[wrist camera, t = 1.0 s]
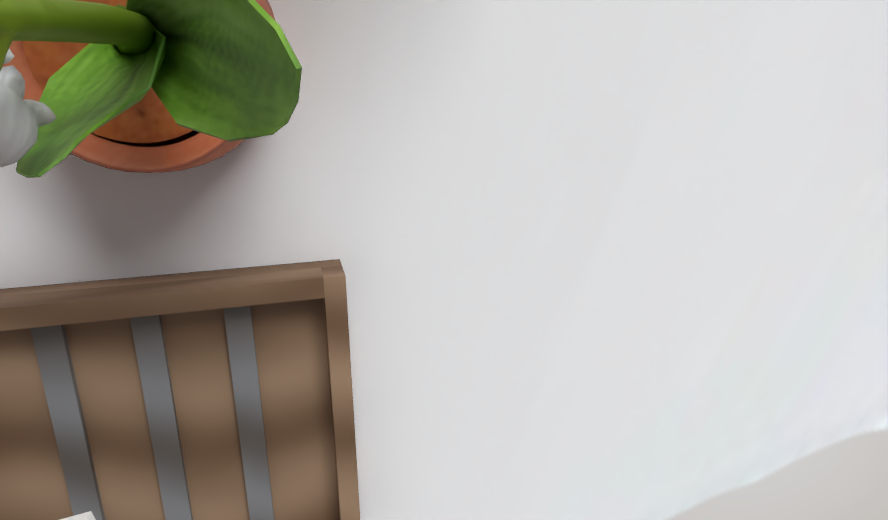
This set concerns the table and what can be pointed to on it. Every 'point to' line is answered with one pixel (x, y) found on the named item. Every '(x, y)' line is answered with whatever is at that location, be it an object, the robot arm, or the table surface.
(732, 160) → the table surface
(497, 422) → the table surface
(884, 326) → the table surface
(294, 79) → the potted flower
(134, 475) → the wooden tray
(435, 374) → the table surface
